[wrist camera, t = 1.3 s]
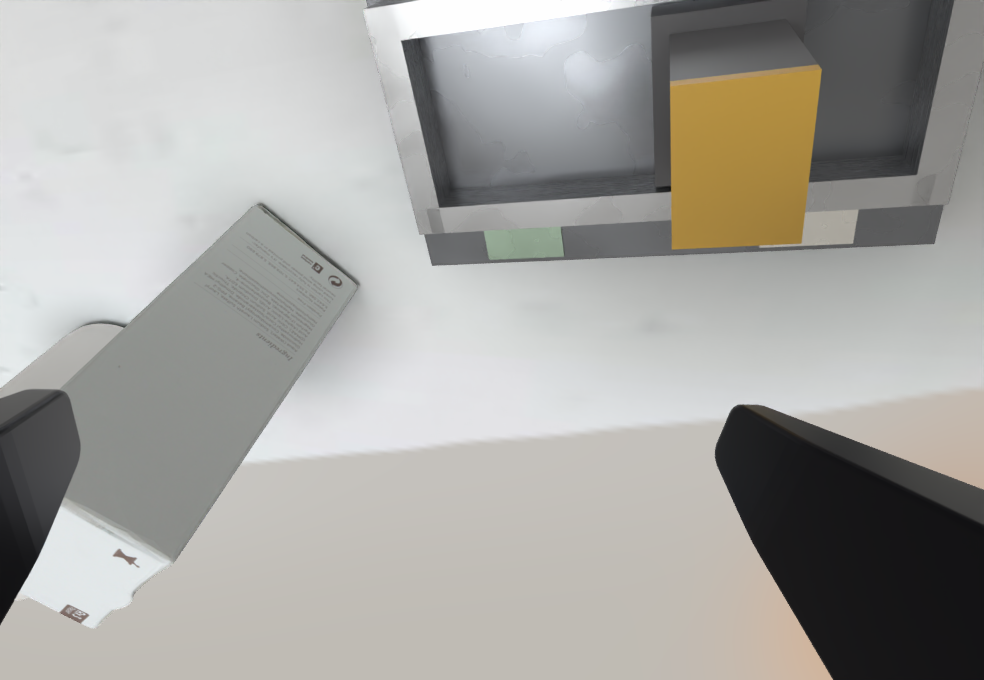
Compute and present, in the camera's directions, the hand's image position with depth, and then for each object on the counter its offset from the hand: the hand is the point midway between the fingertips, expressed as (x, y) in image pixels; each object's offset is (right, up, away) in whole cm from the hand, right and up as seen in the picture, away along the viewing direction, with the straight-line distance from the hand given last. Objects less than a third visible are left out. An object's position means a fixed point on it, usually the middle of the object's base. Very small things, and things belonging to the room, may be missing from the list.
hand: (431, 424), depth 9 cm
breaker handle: (+8, +9, +11) cm, 16 cm away
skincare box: (-10, +3, +22) cm, 25 cm away
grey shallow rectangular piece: (+6, +10, +13) cm, 17 cm away
